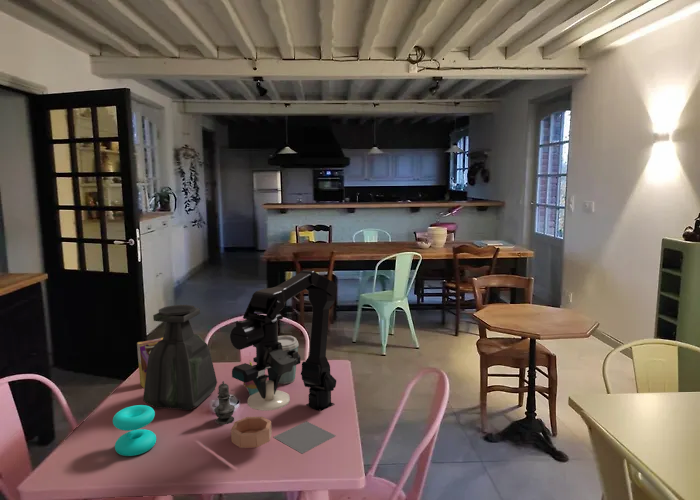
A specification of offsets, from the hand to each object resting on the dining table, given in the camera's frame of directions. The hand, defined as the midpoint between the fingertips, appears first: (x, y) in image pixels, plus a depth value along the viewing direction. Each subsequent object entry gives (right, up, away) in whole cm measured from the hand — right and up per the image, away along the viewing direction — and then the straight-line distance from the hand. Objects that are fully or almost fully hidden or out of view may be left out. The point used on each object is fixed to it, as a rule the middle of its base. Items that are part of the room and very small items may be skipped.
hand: (268, 396), depth 127 cm
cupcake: (-9, -9, +31) cm, 33 cm away
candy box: (-47, -8, +40) cm, 62 cm away
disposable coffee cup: (-1, -7, +41) cm, 42 cm away
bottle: (-32, -10, +27) cm, 43 cm away
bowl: (-5, -12, +2) cm, 13 cm away
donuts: (-34, -13, -2) cm, 37 cm away
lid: (0, -1, 0) cm, 1 cm away
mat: (+9, -12, +2) cm, 15 cm away
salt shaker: (-15, -11, +13) cm, 23 cm away
